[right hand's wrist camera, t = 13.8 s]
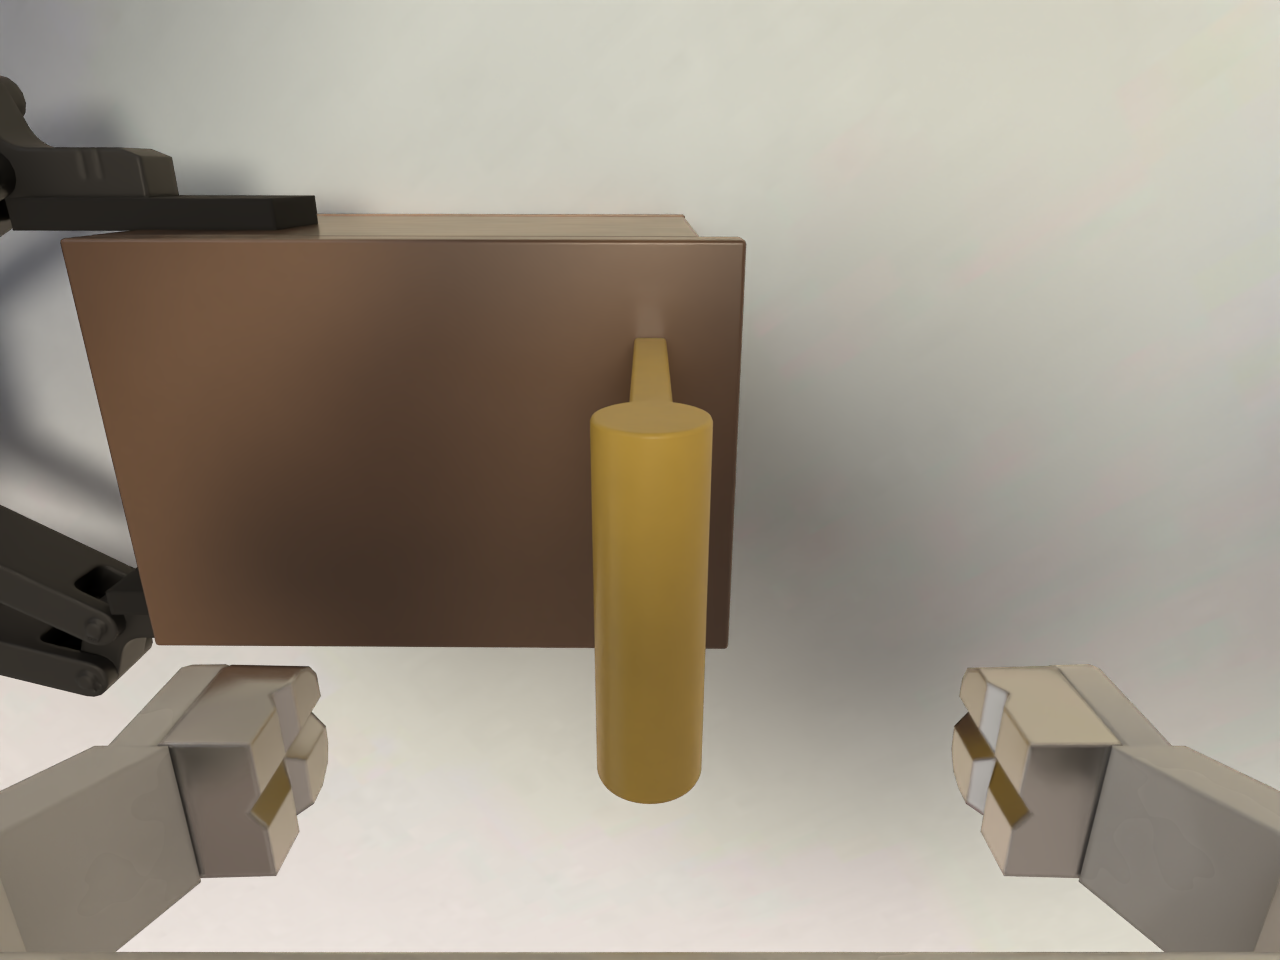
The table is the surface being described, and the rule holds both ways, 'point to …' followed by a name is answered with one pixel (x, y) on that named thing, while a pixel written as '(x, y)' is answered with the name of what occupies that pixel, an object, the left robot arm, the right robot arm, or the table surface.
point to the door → (435, 451)
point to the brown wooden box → (466, 226)
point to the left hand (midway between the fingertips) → (324, 412)
